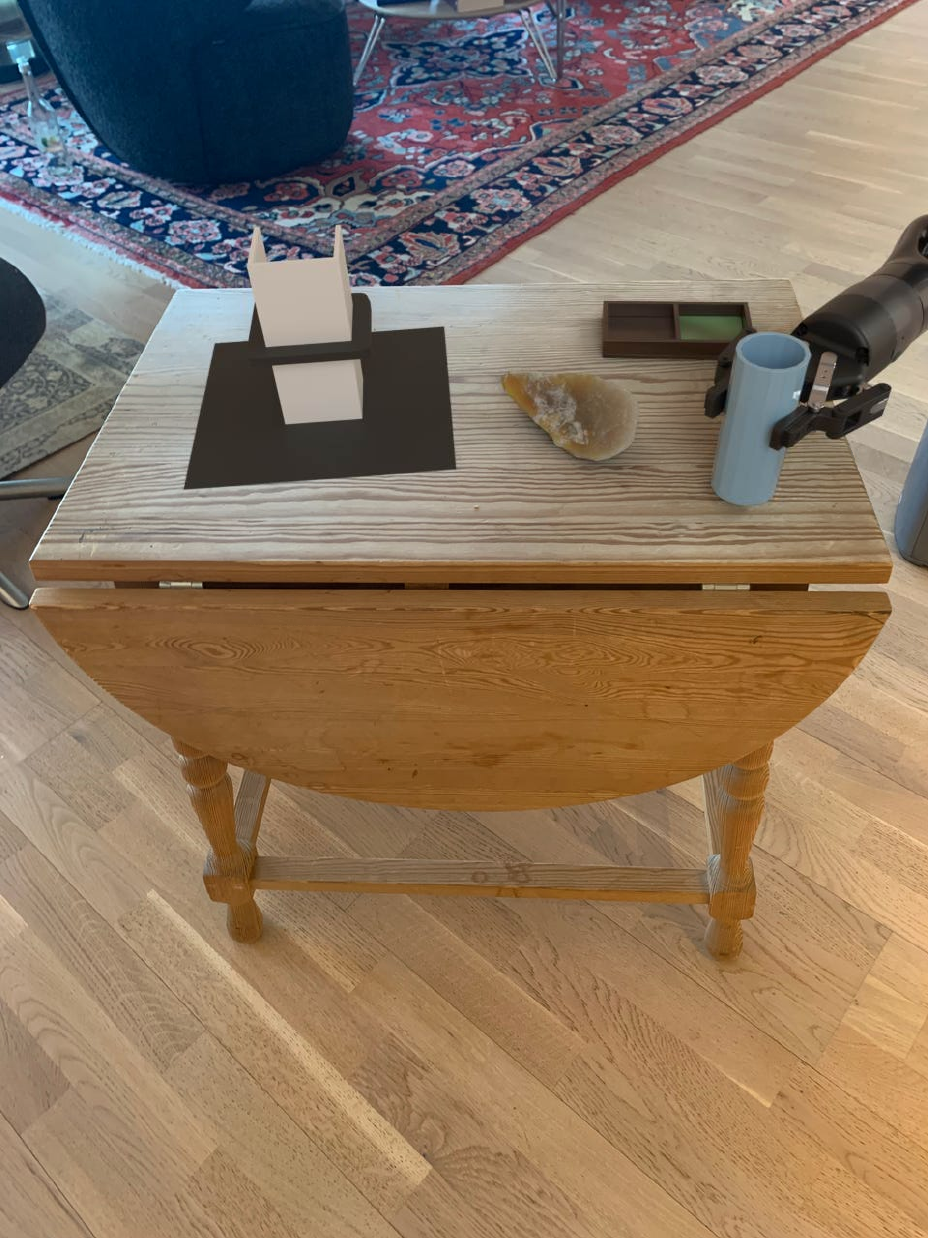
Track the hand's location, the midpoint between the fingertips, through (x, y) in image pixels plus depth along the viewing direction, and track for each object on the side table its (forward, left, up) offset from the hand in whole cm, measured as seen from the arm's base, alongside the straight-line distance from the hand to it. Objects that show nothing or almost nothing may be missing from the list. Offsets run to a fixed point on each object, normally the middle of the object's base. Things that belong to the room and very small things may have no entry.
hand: (742, 423), depth 72 cm
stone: (+8, -15, -10) cm, 20 cm away
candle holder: (+28, -29, -10) cm, 42 cm away
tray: (-9, -26, -9) cm, 29 cm away
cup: (-2, -1, -8) cm, 8 cm away
